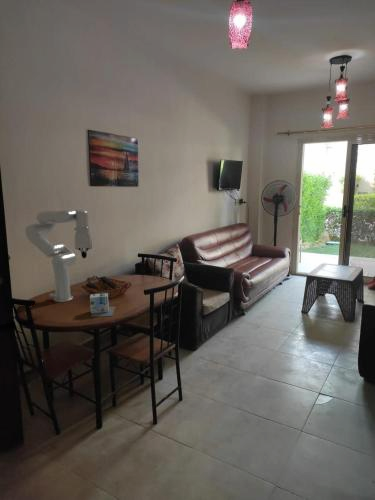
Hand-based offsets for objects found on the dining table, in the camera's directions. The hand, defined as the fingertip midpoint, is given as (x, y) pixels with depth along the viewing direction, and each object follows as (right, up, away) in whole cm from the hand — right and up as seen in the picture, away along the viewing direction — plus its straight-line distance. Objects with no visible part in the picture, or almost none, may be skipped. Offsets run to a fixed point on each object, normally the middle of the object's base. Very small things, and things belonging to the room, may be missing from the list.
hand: (84, 257), depth 230 cm
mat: (+15, -33, -10) cm, 38 cm away
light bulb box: (+7, -28, -12) cm, 32 cm away
